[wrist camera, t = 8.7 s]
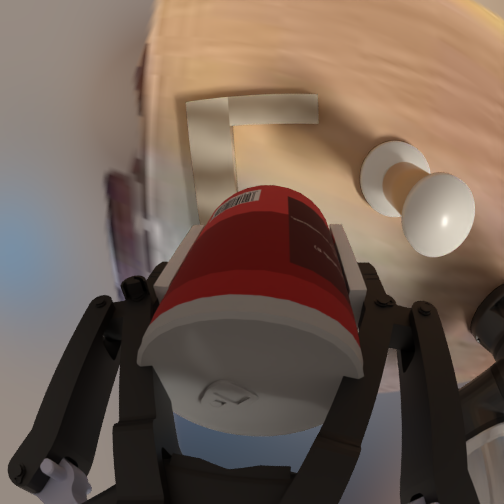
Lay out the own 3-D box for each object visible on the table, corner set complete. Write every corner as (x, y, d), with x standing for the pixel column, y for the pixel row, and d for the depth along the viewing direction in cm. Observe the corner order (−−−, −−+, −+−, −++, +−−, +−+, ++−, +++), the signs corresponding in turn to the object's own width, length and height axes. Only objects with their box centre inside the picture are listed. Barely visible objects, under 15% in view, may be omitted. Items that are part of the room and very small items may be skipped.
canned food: (193, 265, 19) (129, 401, 10) (233, 159, 15) (150, 260, 6) (292, 304, 20) (289, 448, 11) (350, 212, 16) (415, 357, 7)
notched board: (314, 246, 38) (315, 252, 36) (207, 246, 40) (204, 252, 38) (316, 94, 28) (317, 94, 26) (190, 102, 30) (185, 102, 28)
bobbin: (421, 215, 33) (467, 265, 22) (357, 212, 35) (386, 266, 23) (430, 145, 28) (489, 171, 17) (361, 137, 30) (402, 157, 19)
